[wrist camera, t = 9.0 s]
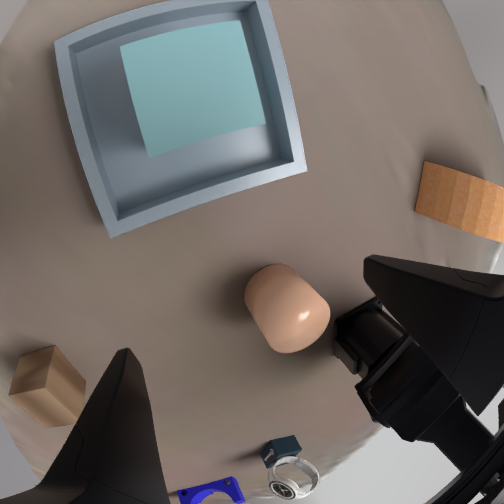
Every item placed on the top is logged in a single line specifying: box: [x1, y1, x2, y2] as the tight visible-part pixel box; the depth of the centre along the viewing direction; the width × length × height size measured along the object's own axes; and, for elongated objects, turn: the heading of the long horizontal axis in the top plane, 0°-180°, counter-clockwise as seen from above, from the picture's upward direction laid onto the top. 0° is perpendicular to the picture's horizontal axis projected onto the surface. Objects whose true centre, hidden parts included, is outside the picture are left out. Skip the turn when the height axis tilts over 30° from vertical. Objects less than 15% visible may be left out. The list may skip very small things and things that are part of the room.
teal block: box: [120, 20, 266, 158], centre depth 12 cm, size 5×5×6 cm
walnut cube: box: [8, 345, 86, 428], centre depth 17 cm, size 5×5×5 cm
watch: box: [260, 435, 320, 500], centre depth 33 cm, size 6×8×11 cm
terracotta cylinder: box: [244, 264, 330, 353], centre depth 21 cm, size 5×5×5 cm
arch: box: [415, 161, 504, 243], centre depth 24 cm, size 6×20×10 cm, turn 84°
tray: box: [54, 0, 307, 239], centre depth 14 cm, size 13×13×2 cm
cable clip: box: [177, 476, 245, 504], centre depth 37 cm, size 12×4×6 cm, turn 104°
